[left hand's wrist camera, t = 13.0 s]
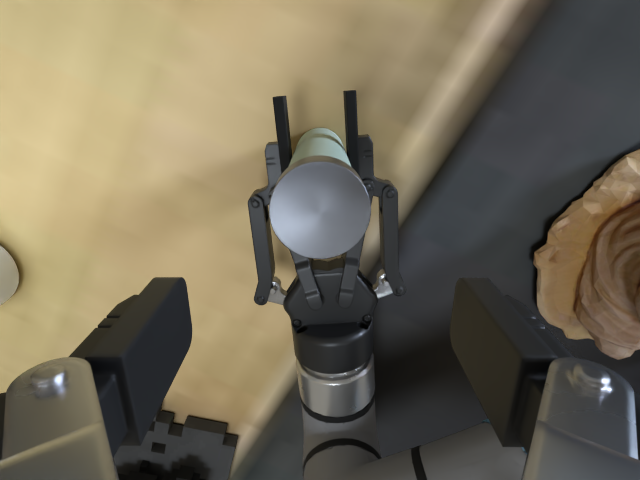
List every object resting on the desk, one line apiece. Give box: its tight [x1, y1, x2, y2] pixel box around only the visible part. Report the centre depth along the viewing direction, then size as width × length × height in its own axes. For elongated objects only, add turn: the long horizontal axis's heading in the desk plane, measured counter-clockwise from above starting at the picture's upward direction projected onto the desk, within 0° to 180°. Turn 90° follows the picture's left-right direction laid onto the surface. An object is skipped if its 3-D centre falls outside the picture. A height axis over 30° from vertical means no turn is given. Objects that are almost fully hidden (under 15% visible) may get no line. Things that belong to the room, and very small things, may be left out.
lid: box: [269, 155, 371, 259], centre depth 21 cm, size 5×5×2 cm
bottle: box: [289, 128, 351, 166], centre depth 29 cm, size 4×4×19 cm
